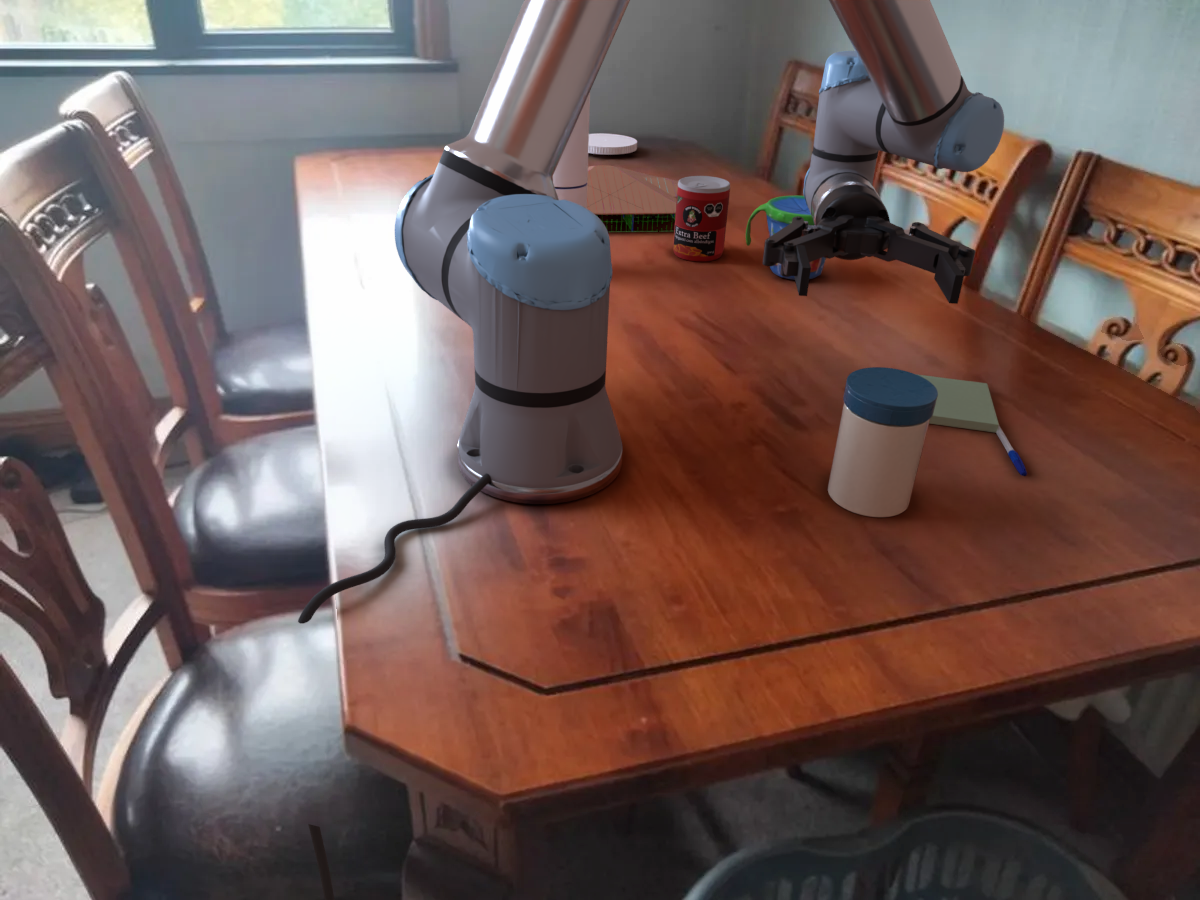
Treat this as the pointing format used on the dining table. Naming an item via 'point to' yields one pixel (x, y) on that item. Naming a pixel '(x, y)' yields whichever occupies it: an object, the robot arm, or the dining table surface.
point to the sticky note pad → (963, 404)
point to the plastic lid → (611, 144)
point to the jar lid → (890, 396)
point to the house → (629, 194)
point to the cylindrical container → (575, 162)
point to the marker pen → (1012, 453)
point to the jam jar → (875, 465)
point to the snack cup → (780, 217)
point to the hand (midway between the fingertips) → (880, 285)
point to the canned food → (701, 218)
